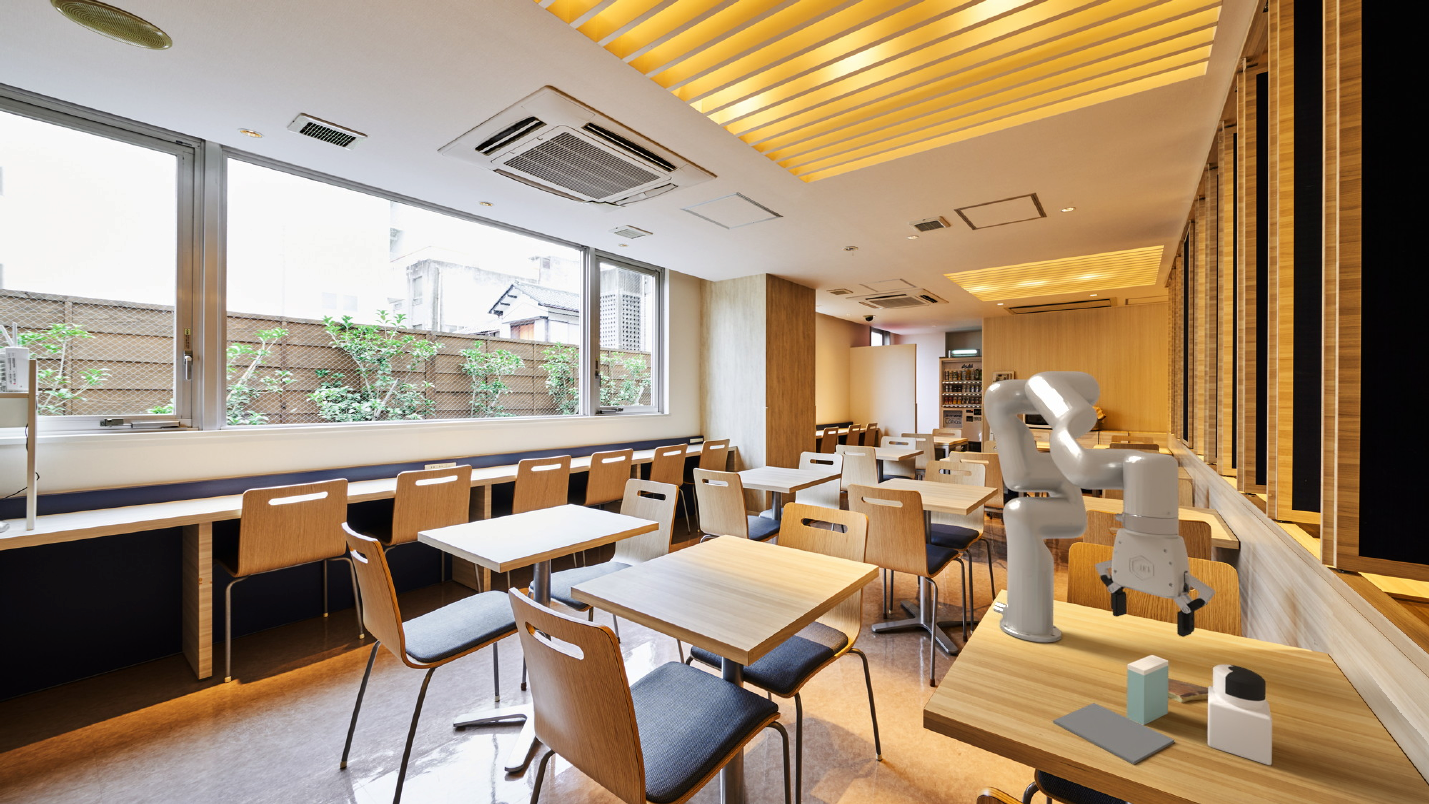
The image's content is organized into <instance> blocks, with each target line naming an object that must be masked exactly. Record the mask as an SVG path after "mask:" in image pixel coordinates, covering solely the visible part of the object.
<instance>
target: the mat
mask: <svg viewBox="0 0 1429 804" xmlns="http://www.w3.org/2000/svg"><path fill="white" fill-rule="evenodd" d="M1052 722H1053V724H1055V725H1057V726H1059V727H1061V728H1063V729H1064V730H1067V731H1069V732H1071V733H1072V734H1073V735H1076V736H1079V738H1082V739H1084V740H1086V741H1088V742H1089V743H1092V744H1094V745H1095V746H1097V747H1099V748H1101V749H1103V750H1105V751H1107V752H1109V753H1111V754H1112V755H1114V756H1116V757H1118V758H1120V759H1122V760H1124V761H1126V762H1127V763H1130V764H1132V765H1135V764H1137V763H1139V762H1141V761H1143V760H1144V759H1146V758H1149V757H1150V756H1153V754H1156V753H1157V752H1159V751H1161V750H1163V749H1165V748H1167V747H1168V746H1170V745H1172V744H1174V743H1175V739H1173V738H1172V737H1169V736H1167V735H1165V734H1162V733H1161V732H1158V731H1156V730H1154V729H1152V728H1150V727H1148V726H1145V725H1142V724H1140V723H1138V722H1135V721H1133V720H1131V719H1129V718H1127V716H1123V715H1121V714H1119V713H1117V712H1116V711H1113V710H1111V709H1108V708H1106V707H1104V706H1102V705H1099V704H1097V703H1096V702H1093V703H1091V704H1089V705H1086V706H1084V707H1081V708H1079V709H1076V710H1074V711H1072V712H1070V713H1067V714H1065V715H1062V716H1059V717H1057V718H1056V719H1053V721H1052Z"/></svg>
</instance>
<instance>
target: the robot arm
mask: <svg viewBox="0 0 1429 804" xmlns="http://www.w3.org/2000/svg"><path fill="white" fill-rule="evenodd" d="M984 393H985V394H984V396H983V397H984V398H983V409H984V415H985V418H986V421H987V424H988V426H989V428H990V430H991V432H992V435H993V437H994V441H995V444H996V449H997V450H996V451H997V455H998V461H999V466H1000V471H1001V476H1002V480H1003V483H1004V485H1005V487H1006V488H1007V489H1009V490H1011V491H1013V492H1018V493H1048V495H1049V496H1046V497H1045V496H1020V497H1015V498H1012V499H1011V500H1009V501H1008V502H1006V503H1005V505H1004V507H1003V511H1002V518H1003V524H1004V529H1005V535H1006V545H1007V546H1006V548H1007V549H1006V550H1007V554H1006V555H1007V556H1006V557H1007V559H1006V560H1007V566H1006V568H1007V573H1006V574H1007V575H1006V577H1007V578H1006V579H1007V581H1006V584H1007V585H1006V586H1007V587H1006V604H1005V603H1003V602H1002V601H1001V602H1000V601H996V602H995V603H994V606H993V609H992V610H993V611H994V612H995V613H998V614H1001V615H1002V618H1001V619H1000V620H999V628H1000V629H1001V630H1002V631H1003V632H1004V633H1007V634H1008V635H1010V636H1013V637H1015V638H1017V639H1020V640H1025V641H1031V642H1035V643H1036V642H1037V643H1052V642H1053V643H1054V642H1057V641H1059V640H1061V638H1062V631H1061V630H1060V628H1058V627H1057V626H1055V625H1054V600H1055V599H1054V597H1055V596H1054V595H1055V594H1054V592H1055V591H1054V589H1055V588H1054V587H1055V584H1054V583H1055V582H1054V579H1055V577H1054V576H1055V569H1054V568H1055V562H1054V556H1053V554H1052V552H1051V551H1050V549H1049V548H1048V546H1047V545H1046V544H1045V541H1044V540H1048V539H1049V540H1050V539H1076V538H1079V537H1082V535H1084V534H1085V533H1086V531H1087V527H1088V514H1087V509H1086V505H1085V501H1084V497H1083V492H1082V489H1083V490H1115V491H1116V490H1118V491H1120V490H1121V491H1122V495H1123V496H1122V498H1123V500H1122V501H1123V502H1122V505H1123V507H1122V508H1123V509H1122V510H1123V511H1121V512H1122V513H1116V514H1115V516H1114V518H1115V520H1116V521H1118V522H1121V526H1122V527H1123V528H1122V527H1121V528H1117V530H1116V535H1115V539H1114V543H1113V544H1114V545H1113V548H1112V549H1113V550H1112V558H1111V559H1109V560H1106V561H1102V562H1097V563H1095V564H1094V567H1095V569H1096V571H1097V573H1098V575H1099V577H1100V581H1101V582H1102V583H1103V584H1104V585H1105V587H1106V588H1107V591H1108V593H1110V608H1111V609H1112V616H1113V617H1121V616H1124V615H1127V611H1128V610H1127V592H1126V591H1124V589H1129V590H1132V591H1138V592H1141V593H1144V594H1148V595H1153V596H1156V597H1160V598H1163V599H1164V598H1165V599H1172V600H1173V601H1174V603H1175V604H1176V605H1177V606H1178V607H1179V609H1180V610H1179V611H1177V612H1176V614H1177V615H1176V616H1177V617H1176V619H1177V620H1176V621H1177V622H1176V623H1177V624H1176V625H1177V626H1176V627H1177V629H1176V631H1177V632H1176V633H1177V635H1178V637H1182V638H1185V637H1187V636H1189V635H1192V633H1193V632H1195V625H1196V624H1195V623H1196V622H1195V621H1196V620H1195V619H1196V618H1195V612H1196V611H1199V610H1200V609H1201V608H1203V607H1205V606H1207V605H1208V604H1209V603H1210V601H1211V599H1212V598H1213V597H1214V596H1215V594H1216V590H1215V589H1213V588H1212V587H1211V586H1209V585H1207V584H1206V583H1204V582H1203V581H1202V580H1200V579H1198V578H1197V577H1196V576H1194V575H1192V574H1191V573H1190V572H1191V571H1190V570H1191V569H1190V562H1189V557H1188V556H1189V555H1188V552H1187V551H1188V550H1187V546H1186V543H1185V540H1184V537H1183V536H1181V535H1180V534H1179V533H1180V532H1179V530H1180V529H1179V526H1180V525H1179V524H1180V523H1179V522H1180V521H1179V520H1180V518H1179V515H1180V514H1179V513H1180V512H1179V511H1180V510H1179V501H1180V500H1179V462H1178V460H1177V459H1176V458H1175V457H1174V456H1173V455H1170V454H1164V453H1152V452H1146V451H1142V450H1137V449H1129V448H1126V449H1124V448H1121V449H1120V448H1119V449H1118V448H1117V449H1116V448H1085V447H1084V446H1082V444H1080V442H1079V441H1078V440H1077V439H1079V438H1081V437H1084V436H1085V435H1086V434H1088V433H1089V432H1090V431H1091V430H1092V429H1093V428H1094V427H1095V426H1096V423H1097V422H1098V413H1097V410H1096V409H1095V408H1094V407H1093V406H1095V405H1096V404H1097V402H1098V401H1099V399H1100V396H1101V389H1100V385H1099V383H1098V381H1097V379H1096V378H1095V377H1094V376H1093V375H1091V374H1089V373H1087V372H1085V371H1073V370H1072V371H1071V370H1070V371H1065V370H1064V371H1063V370H1062V371H1057V370H1053V371H1050V370H1049V371H1042V372H1037V373H1035V374H1033V375H1032V376H1031V377H1029V378H1028V379H1003V380H999V381H995V382H993V383H991V384H990V385H988V388H987V389H986V390H985V392H984ZM1018 415H1041V417H1042V418H1043V419H1044V420H1045V422H1046V423H1047V424H1048V426H1049V427H1050V428H1051V429H1052V430H1051V432H1050V435H1049V452H1040V451H1039V450H1038V448H1037V445H1036V441H1035V436H1034V433H1033V432H1032V430H1031V429H1030V427H1029V426H1028V425H1027V424H1026V422H1024V421H1023V420H1022V419H1021V418H1020V417H1018ZM1109 569H1111V570H1110V571H1111V573H1110V572H1109ZM1191 588H1193V589H1194V590H1196V591H1197V592H1198V595H1197V597H1196V598H1194V599H1193V598H1192V597H1191V596H1190V595H1189V593H1190V592H1191Z"/></svg>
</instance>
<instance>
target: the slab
mask: <svg viewBox="0 0 1429 804" xmlns="http://www.w3.org/2000/svg"><path fill="white" fill-rule="evenodd" d="M1169 668H1170V667H1169V660H1167V659H1164V658H1162V657H1159V656H1157V655H1153V654H1151V655H1148V656H1146V657H1145V656H1144V657H1143V658H1140V659H1137V660H1135V661H1133V662H1130V663H1127V673H1126V674H1127V676H1126V677H1127V678H1126V679H1127V680H1126V682H1127V683H1126V684H1127V685H1126V687H1127V688H1126V689H1127V690H1126V691H1127V692H1126V698H1127V699H1126V718H1128V719H1130V720H1132V721H1135V722H1137V723H1139V724H1141V725H1143V726H1145V725H1147V724H1149V723H1151V722H1154V721H1155V720H1157V719H1159V718H1161V717H1163V716H1165V715H1167V714H1169V697H1168V678H1169V670H1170V669H1169Z"/></svg>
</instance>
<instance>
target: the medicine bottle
mask: <svg viewBox="0 0 1429 804" xmlns="http://www.w3.org/2000/svg"><path fill="white" fill-rule="evenodd" d="M1266 687H1267V686H1266V680H1265V679H1264V678H1263V676H1262V675H1260V674H1259V673H1257V672H1255V671H1254V670H1253V671H1252V670H1251V669H1248V668H1246V667H1244V666H1239V665H1235V664H1217V665H1215V666H1213V668H1212V685H1209V686H1207V688H1208V699H1207V746H1208V747H1210V748H1213V749H1215V750H1216V749H1217V750H1219V751H1223V752H1226V753H1228V754H1231V755H1235V756H1238V757H1241V758H1244V759H1248V760H1250V761H1254V762H1257V763H1260V764H1264V765H1267V766H1271V765H1272V763H1273V762H1272V761H1273V760H1272V757H1273V756H1272V754H1273V751H1272V750H1273V745H1272V744H1273V718H1272V714H1271V709H1270V703H1269V701H1268V700H1266V690H1267V689H1266Z"/></svg>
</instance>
